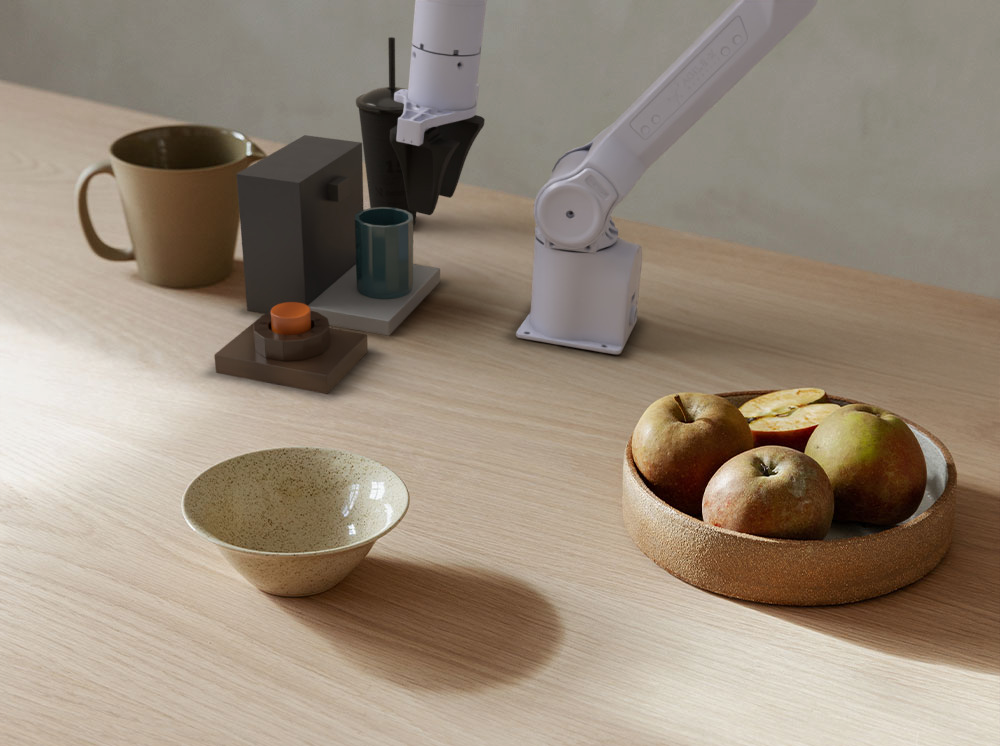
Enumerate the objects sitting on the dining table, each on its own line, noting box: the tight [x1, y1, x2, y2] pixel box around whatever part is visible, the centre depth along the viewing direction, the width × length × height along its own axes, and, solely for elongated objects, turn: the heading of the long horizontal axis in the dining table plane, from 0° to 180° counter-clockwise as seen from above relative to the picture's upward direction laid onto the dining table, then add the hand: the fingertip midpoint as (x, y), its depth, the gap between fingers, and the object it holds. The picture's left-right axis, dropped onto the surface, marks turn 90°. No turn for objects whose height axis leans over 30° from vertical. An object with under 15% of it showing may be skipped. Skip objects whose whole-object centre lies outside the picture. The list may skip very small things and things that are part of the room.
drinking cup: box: [355, 36, 418, 227], centre depth 118 cm, size 8×8×20 cm
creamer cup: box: [355, 207, 414, 299], centre depth 101 cm, size 5×5×7 cm
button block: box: [214, 311, 369, 395], centre depth 91 cm, size 10×8×4 cm
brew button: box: [271, 302, 311, 335], centre depth 90 cm, size 3×3×2 cm
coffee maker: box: [236, 134, 441, 337], centre depth 101 cm, size 14×13×13 cm
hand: (431, 203), depth 97 cm, fingers open, 4 cm apart
